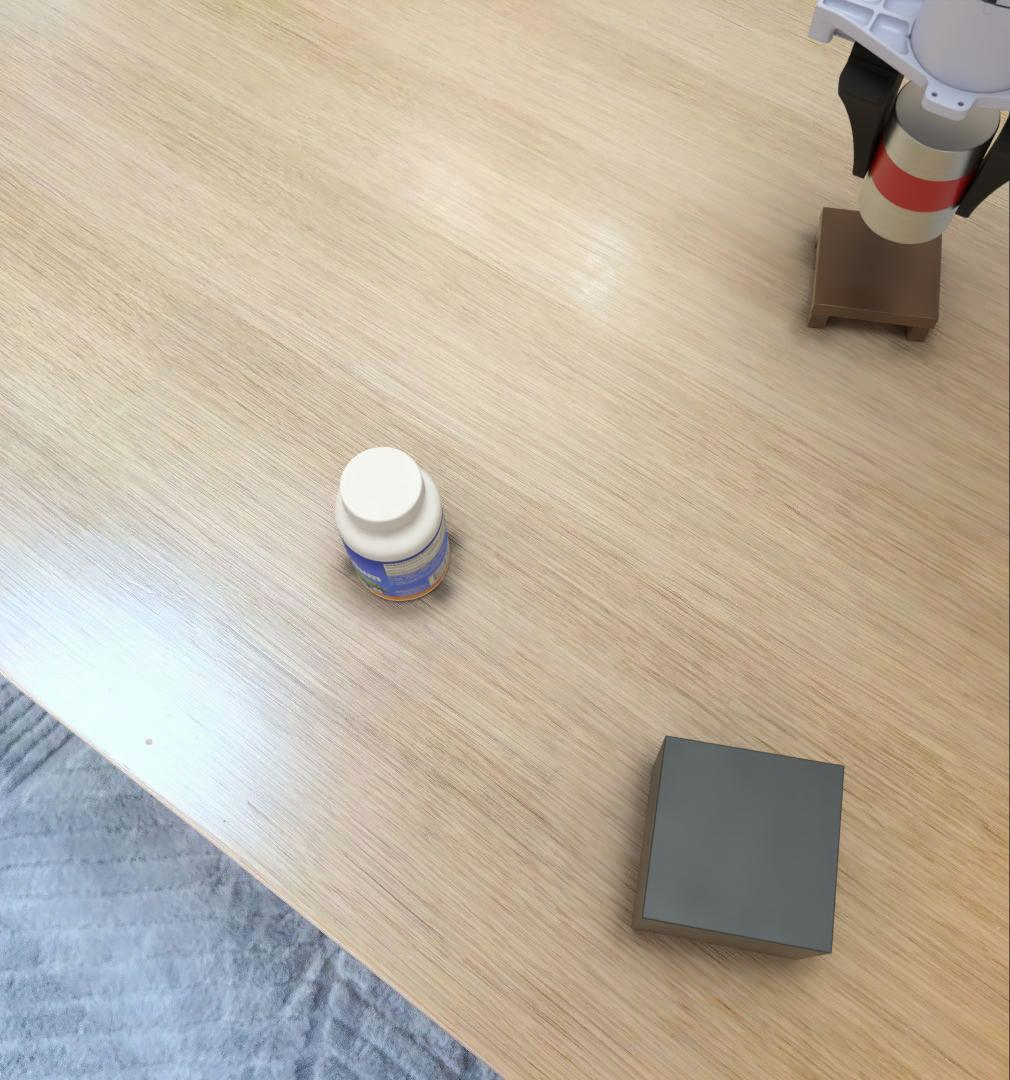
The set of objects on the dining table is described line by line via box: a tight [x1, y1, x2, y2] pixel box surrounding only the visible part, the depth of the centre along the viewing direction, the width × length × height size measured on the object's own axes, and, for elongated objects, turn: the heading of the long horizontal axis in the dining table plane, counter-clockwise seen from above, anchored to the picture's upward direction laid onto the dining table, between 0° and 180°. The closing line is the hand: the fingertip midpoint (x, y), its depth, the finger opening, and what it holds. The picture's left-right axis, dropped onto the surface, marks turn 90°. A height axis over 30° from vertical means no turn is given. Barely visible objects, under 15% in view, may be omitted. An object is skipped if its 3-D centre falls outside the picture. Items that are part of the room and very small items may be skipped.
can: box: [857, 79, 1001, 244], centre depth 57 cm, size 5×5×7 cm
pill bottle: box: [333, 446, 451, 602], centre depth 58 cm, size 5×5×10 cm
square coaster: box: [630, 735, 846, 961], centre depth 52 cm, size 8×8×7 cm
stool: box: [806, 206, 943, 343], centre depth 66 cm, size 7×7×2 cm
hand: (914, 182), depth 59 cm, fingers closed on can, 5 cm apart
